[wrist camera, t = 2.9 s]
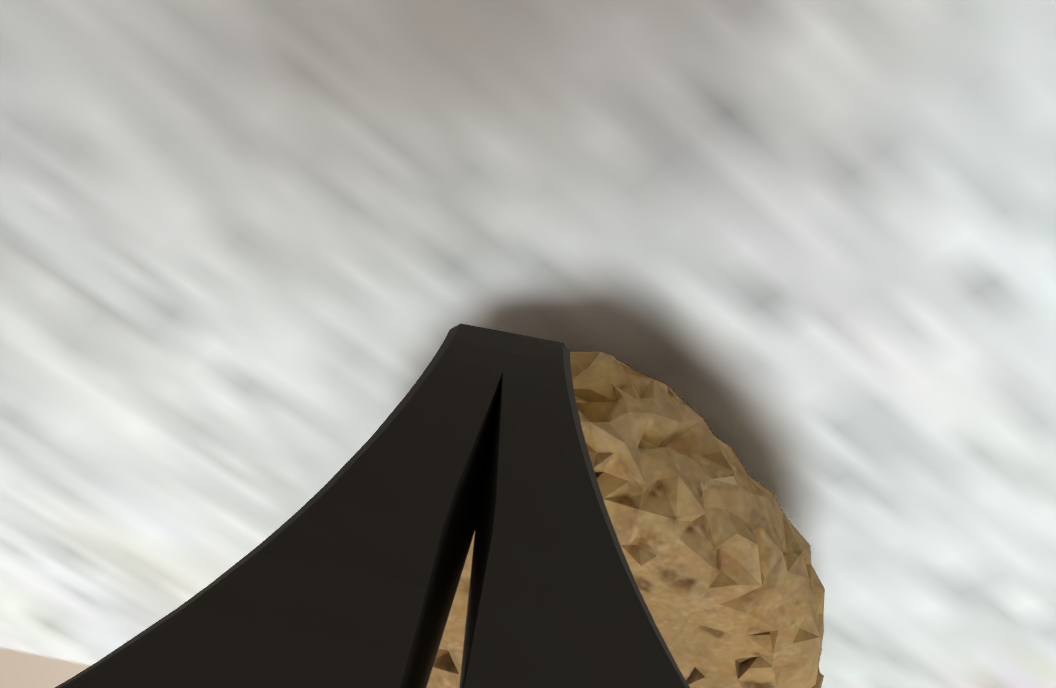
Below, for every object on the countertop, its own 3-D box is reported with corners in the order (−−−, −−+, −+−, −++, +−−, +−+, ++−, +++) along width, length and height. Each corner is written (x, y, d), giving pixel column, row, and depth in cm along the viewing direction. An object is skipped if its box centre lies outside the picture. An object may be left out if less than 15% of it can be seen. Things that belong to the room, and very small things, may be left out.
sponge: (685, 746, 36) (1057, 505, 20) (629, 978, 31) (1067, 890, 15) (373, 591, 36) (508, 238, 21) (265, 796, 31) (337, 530, 16)
